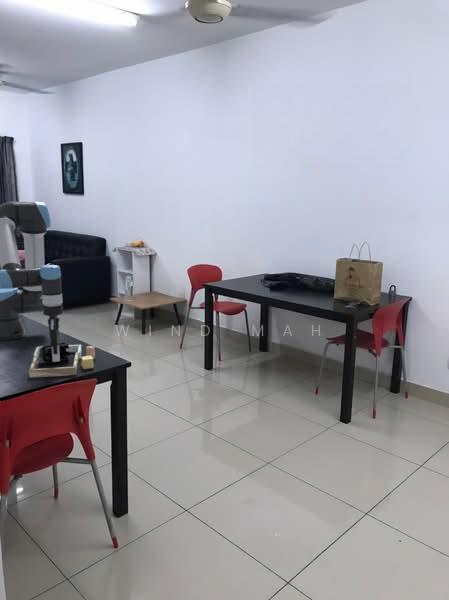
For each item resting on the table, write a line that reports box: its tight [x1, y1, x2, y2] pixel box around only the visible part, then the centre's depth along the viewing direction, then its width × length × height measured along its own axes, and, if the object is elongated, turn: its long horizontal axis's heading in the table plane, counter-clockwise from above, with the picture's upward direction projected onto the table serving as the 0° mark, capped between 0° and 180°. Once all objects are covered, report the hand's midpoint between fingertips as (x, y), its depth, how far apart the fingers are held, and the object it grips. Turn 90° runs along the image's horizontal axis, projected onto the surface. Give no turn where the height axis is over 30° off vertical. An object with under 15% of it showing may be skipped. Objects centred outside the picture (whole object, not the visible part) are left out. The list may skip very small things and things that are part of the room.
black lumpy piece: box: [39, 341, 71, 364], centre depth 198 cm, size 10×7×7 cm
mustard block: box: [80, 355, 95, 370], centre depth 193 cm, size 4×4×4 cm
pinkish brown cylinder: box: [85, 345, 96, 360], centre depth 202 cm, size 4×4×5 cm
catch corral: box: [33, 344, 83, 360], centre depth 204 cm, size 10×18×3 cm, turn 104°
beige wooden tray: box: [28, 352, 80, 379], centre depth 191 cm, size 18×17×3 cm
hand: (56, 360), depth 193 cm, fingers closed
